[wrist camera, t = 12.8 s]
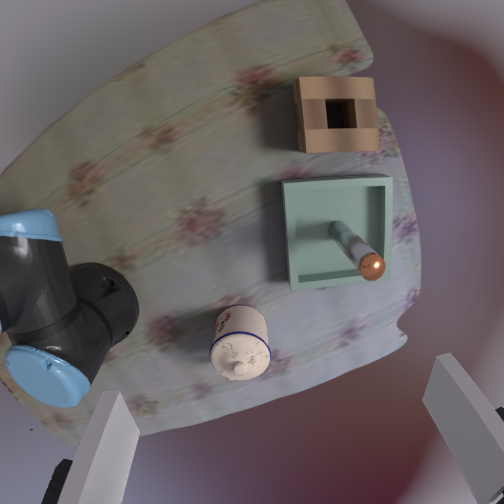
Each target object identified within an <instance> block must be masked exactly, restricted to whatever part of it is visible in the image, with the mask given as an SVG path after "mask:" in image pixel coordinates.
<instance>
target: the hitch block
mask: <svg viewBox="0 0 504 504" xmlns="http://www.w3.org/2000/svg"><path fill="white" fill-rule="evenodd" d="M292 86H293V95H294V104H295V114H296V124H297V134H298V145H299V152H303V153H319V152H342V151H380V150H379V134H378V121H377V110H376V100H375V91H374V83H373V78H365V77H334V76H317V77H298V79H297V80H296V81H295V82H294V83H293V85H292ZM325 103H341V104H342V115H343V126H344V129H328V126H327V115H326V105H325Z"/></svg>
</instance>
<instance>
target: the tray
mask: <svg viewBox="0 0 504 504" xmlns="http://www.w3.org/2000/svg"><path fill="white" fill-rule="evenodd" d="M281 188H282V201H283V213H284V226H285V240H286V254H287V270H288V282H289V286H290V289H291V291H295V290H304V289H313V288H321V287H330V286H338V285H346V284H354V283H361V282H369V281H368V280H366V279H364V278H363V277H362V275H361V274H360V273H359V272H358V270H357V269H356V268H355V266H354V265H353V264H352V263H351V261H350V260H349V259H348V258H347V256H346V255H345V254H344V253H343V252H342V250H341V249H340V248H339V247H338V245H337V244H336V243H335V242H334V240H333V239H332V238H331V237H330V236H329V233H328V228H329V226H330V224H331V223H332V222H334V221H337V220H339V221H342V222H344V223H345V224H346V225H347V226H348V227H349V228H351V229H352V230H353V231H354V232H355V233H356V234H357V235H358V236H359V237H360V238H362V239H363V240H364V241H365V242H366V243H367V244H368V245H369V246H370V247H371V248H372V249H373V250H374V251H376V252H377V253H378V254H379V255H380V256H381V257H382V258H383V259H384V261H385V264H386V268H385V272H384V274H383V275H382V276H381V277H380V278H379V279H377V280H383V279H389V276H390V262H391V243H392V204H393V192H392V177H390V176H387V175H384V174H375V175H352V176H334V177H318V178H304V179H291V180H281ZM375 281H376V280H375Z"/></svg>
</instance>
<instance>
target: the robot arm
mask: <svg viewBox="0 0 504 504" xmlns="http://www.w3.org/2000/svg"><path fill="white" fill-rule="evenodd" d="M62 242H63V239H62V238H61V237H60V234H59V231H58V227H57V223H56V220H55V217H54V215H53V213H52V212H51V211H50V210H48V209H45V208H39V209H32V210H26V211H20V212H15V213H10V214H5V215H0V334H1V333H2V332H4V331H6V332H7V334H8V336H9V338H10V341H11V343H12V346H11V347H9V348H8V350H7V353H6V359H5V363H6V367H7V369H8V371H9V373H10V375H11V376H12V378H13V379H14V380H15V382H16V383H17V384H18V385H19V386H20V387H21V388H22V389H23V390H24V391H25V392H27V393H28V394H29V395H31V396H32V397H34V398H35V399H37V400H39V401H41V402H43V403H45V404H47V405H50V406H53V407H57V408H71V407H74V406H75V405H77V404H78V403H79V402H80V401H81V399H82V398H83V396H84V395H85V393H86V392H87V391H88V390H89V389H90V386H91V384H92V382H93V380H94V378H95V376H96V374H97V372H98V370H99V369H100V367H101V365H102V363H103V361H104V359H105V357H106V355H107V353H108V352H109V350H110V348H111V347H113V346H114V345H116V344H117V343H119V342H121V341H122V340H124V339H125V338H126V337H127V336H128V335H129V334H130V333H131V332H132V330H133V328H134V326H135V325H136V323H137V320H138V316H139V305H138V300H137V297H136V294H135V292H134V290H133V288H132V287H131V285H130V284H129V283H128V281H127V280H126V279H125V278H124V277H123V276H122V275H121V274H120V273H118V272H117V271H115V270H114V269H112V268H110V267H108V266H106V265H103V264H99V263H86V264H82V265H80V266H78V267H77V268H75V269H74V270H73V271H72V272H71V273H70V270H69V267H68V264H67V260H66V256H65V253H64V249H63V245H62ZM422 401H423V403H424V404H425V406H426V408H427V410H428V411H429V413H430V415H431V417H432V418H433V420H434V422H435V424H436V425H437V427H438V429H439V431H440V432H441V434H442V436H443V438H444V440H445V441H446V443H447V445H448V447H449V449H450V451H451V452H452V454H453V456H454V458H455V460H456V462H457V464H458V465H459V467H460V469H461V471H462V473H463V475H464V477H465V479H466V481H467V483H468V485H469V487H470V489H471V491H472V493H473V495H474V497H475V499H476V501H477V503H478V504H488V503H490V502H492V501H494V500H495V499H496V498H497V497H498V496H499V495H500V494H501V493H503V495H504V408H502V407H500V408H498V409H496V410H495V409H494V408H493V407H492V405H491V404H490V403H489V401H488V400H487V399H486V397H485V396H484V395H483V393H482V392H481V391H480V389H479V388H478V387H477V386H476V384H475V383H474V382H473V380H472V379H471V378H470V377H469V375H468V374H467V373H466V371H465V370H464V369H463V368H462V367H461V365H460V364H459V363H458V362H457V360H456V359H455V358H454V357H453V356H452V354H451V353H447V354H444V355H441V356H437V357H436V360H435V363H434V367H433V370H432V373H431V376H430V379H429V382H428V385H427V388H426V391H425V394H424V397H423V400H422ZM139 434H140V431H139V430H138V428H137V426H136V424H135V422H134V420H133V418H132V416H131V414H130V412H129V410H128V408H127V406H126V404H125V402H124V400H123V397H122V395H121V393H120V391H106V390H104V391H103V393H102V395H101V397H100V400H99V402H98V404H97V406H96V408H95V411H94V413H93V415H92V417H91V420H90V422H89V424H88V427H87V429H86V431H85V434H84V436H83V438H82V441H81V443H80V446H79V448H78V451H77V453H76V456H75V458H74V460H73V461H72V460H68V459H63V460H62V461H61V463H60V464H58V466H57V467H56V468H55V471H54V473H53V475H52V480H50V483H49V485H48V488H47V490H46V493H45V495H44V498H43V501H42V503H41V504H121V503H122V499H123V494H124V490H125V486H126V483H127V479H128V475H129V471H130V467H131V463H132V459H133V456H134V452H135V448H136V445H137V441H138V438H139ZM496 504H504V497H502V498H501V499H500V500H499V501H498V502H497V503H496Z"/></svg>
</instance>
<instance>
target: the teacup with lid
mask: <svg viewBox="0 0 504 504" xmlns="http://www.w3.org/2000/svg"><path fill="white" fill-rule="evenodd" d="M270 359H271V352H270V349H269V346H268V338H267V328H266V322H265V319H264V317H263V316H262V314H261V313H260V312H258V311H257V310H256V309H254V308H252V307H249V306H243V305H238V306H233V307H230V308H227V309H226V310H224V311H223V312H222V313H221V314H220V315H219V316H218V318H217V321H216V325H215V331H214V338H213V344H212V346H211V349H210V360H211V363H212V365H213V367H214V368H215V369H216V371H217V372H219V373H220V374H221V375H223V376H225V377H226V378H227V380H230V381H233V380H247V379H251V378H254V377H256V376H258V375H260V374H261V373H262V372H263V371H264V370H265V369H266V368H267V366H268V364H269V362H270Z"/></svg>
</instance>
